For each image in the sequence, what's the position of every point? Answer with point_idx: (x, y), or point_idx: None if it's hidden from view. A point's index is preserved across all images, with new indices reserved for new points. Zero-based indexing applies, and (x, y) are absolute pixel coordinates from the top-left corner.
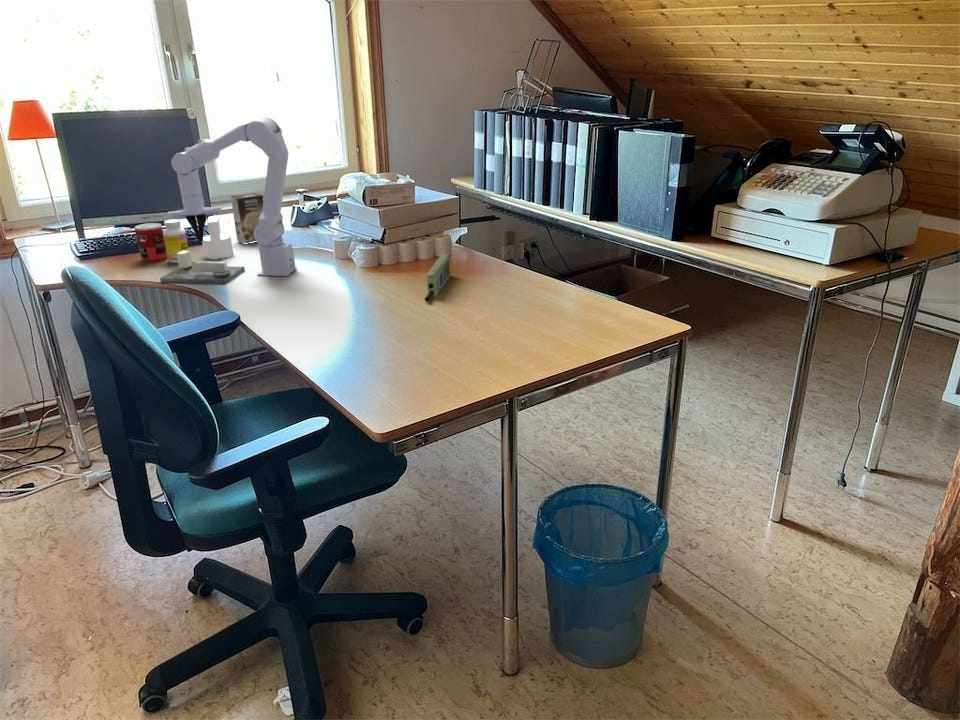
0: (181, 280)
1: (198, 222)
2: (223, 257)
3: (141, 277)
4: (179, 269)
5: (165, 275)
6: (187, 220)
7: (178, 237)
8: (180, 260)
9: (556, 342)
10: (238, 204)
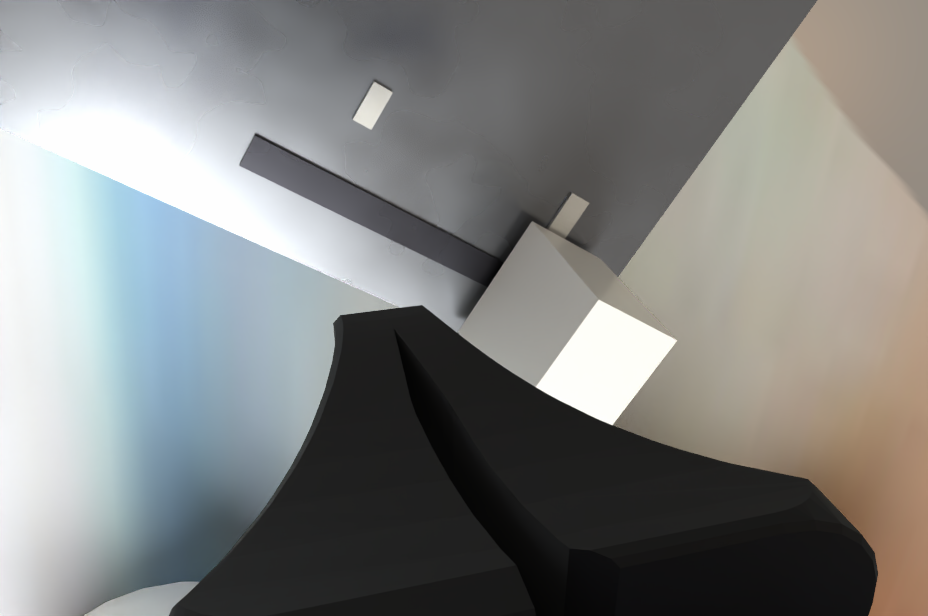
0: None
1: (476, 526)
2: (131, 598)
3: (890, 227)
4: (597, 238)
5: (766, 60)
6: (868, 571)
7: None
8: (612, 283)
9: None
10: None
